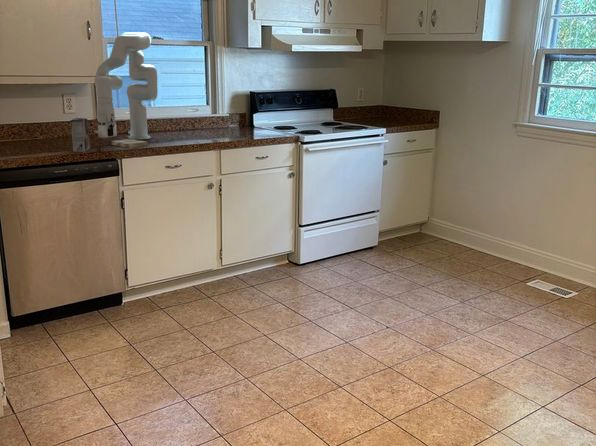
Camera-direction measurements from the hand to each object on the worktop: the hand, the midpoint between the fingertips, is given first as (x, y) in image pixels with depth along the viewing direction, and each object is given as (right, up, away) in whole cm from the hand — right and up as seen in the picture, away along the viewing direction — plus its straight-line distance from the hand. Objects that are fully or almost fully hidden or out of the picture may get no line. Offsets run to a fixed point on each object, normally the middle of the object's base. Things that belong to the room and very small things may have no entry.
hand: (107, 135), depth 320 cm
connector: (0, -1, 0) cm, 1 cm away
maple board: (+8, -4, +12) cm, 15 cm away
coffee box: (-11, -9, -8) cm, 16 cm away
